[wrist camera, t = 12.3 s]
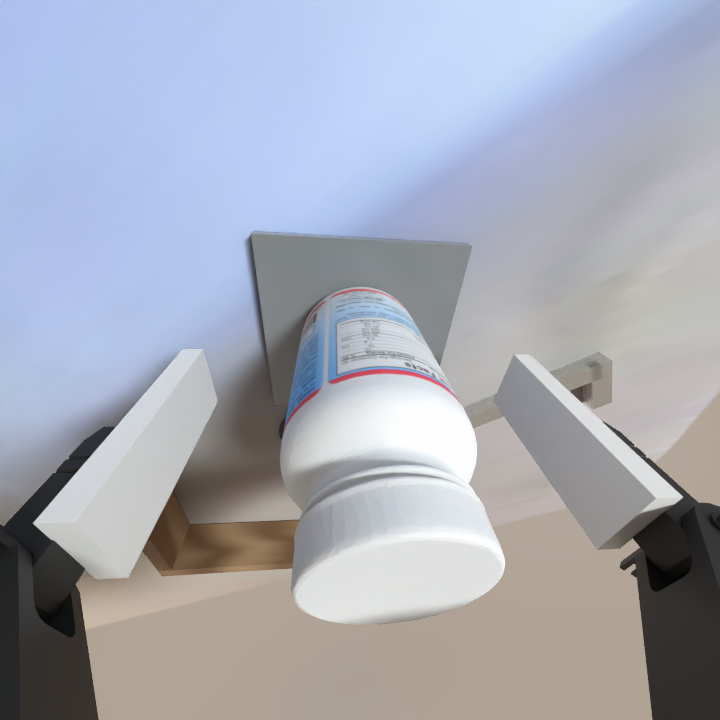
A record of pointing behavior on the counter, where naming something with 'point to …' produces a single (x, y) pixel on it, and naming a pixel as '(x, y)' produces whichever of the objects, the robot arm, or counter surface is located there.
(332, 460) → the pill bottle
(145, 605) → the counter surface
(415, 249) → the coaster
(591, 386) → the crook tool
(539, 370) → the robot arm
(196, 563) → the cubby
